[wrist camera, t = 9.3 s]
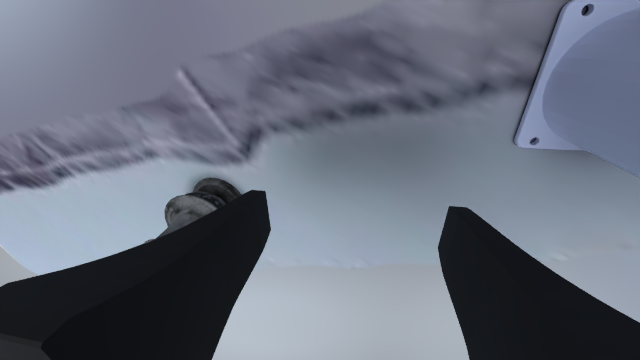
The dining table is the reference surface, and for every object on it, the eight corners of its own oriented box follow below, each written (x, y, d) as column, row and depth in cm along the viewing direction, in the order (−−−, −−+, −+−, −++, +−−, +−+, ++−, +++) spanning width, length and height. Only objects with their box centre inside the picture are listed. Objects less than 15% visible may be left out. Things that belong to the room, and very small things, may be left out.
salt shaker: (182, 202, 25) (48, 315, 15) (205, 162, 22) (60, 266, 12) (231, 236, 26) (139, 363, 16) (259, 202, 23) (169, 329, 13)
